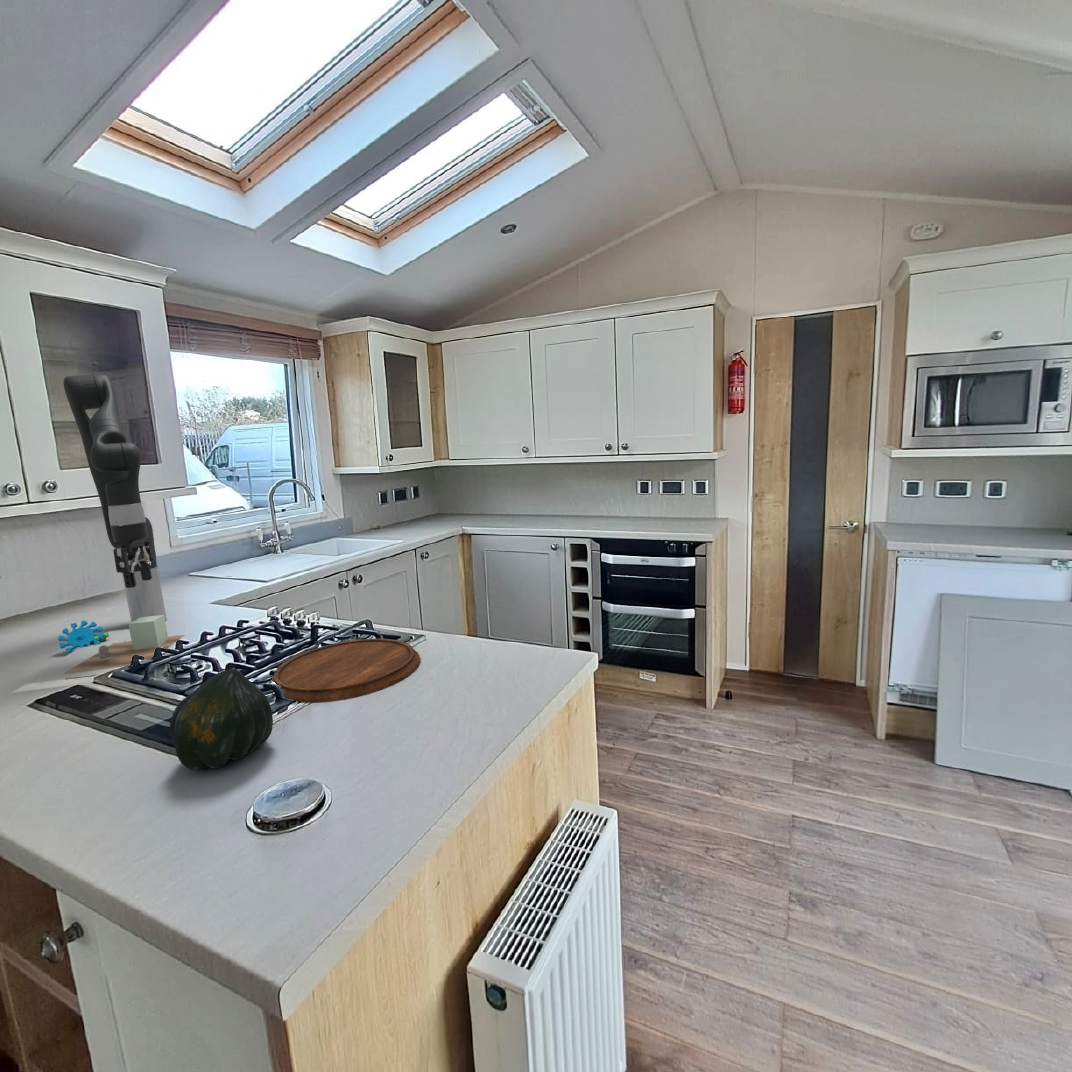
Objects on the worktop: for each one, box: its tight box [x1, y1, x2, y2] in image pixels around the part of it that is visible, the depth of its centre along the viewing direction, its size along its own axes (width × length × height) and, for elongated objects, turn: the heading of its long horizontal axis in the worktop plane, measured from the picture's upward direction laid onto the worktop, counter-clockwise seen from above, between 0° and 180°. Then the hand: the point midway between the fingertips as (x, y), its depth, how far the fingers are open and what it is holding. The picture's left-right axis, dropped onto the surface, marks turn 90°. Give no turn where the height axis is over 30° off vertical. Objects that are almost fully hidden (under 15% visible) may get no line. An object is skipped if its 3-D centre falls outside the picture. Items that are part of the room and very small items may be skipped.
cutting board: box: [271, 638, 421, 704], centre depth 130 cm, size 32×32×2 cm
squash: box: [169, 667, 274, 771], centre depth 95 cm, size 14×15×15 cm
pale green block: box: [128, 615, 169, 650], centre depth 154 cm, size 6×6×7 cm
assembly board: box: [64, 634, 185, 680], centre depth 149 cm, size 22×18×6 cm
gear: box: [57, 620, 110, 654], centre depth 160 cm, size 11×6×10 cm
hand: (139, 583), depth 152 cm, fingers open, 8 cm apart
